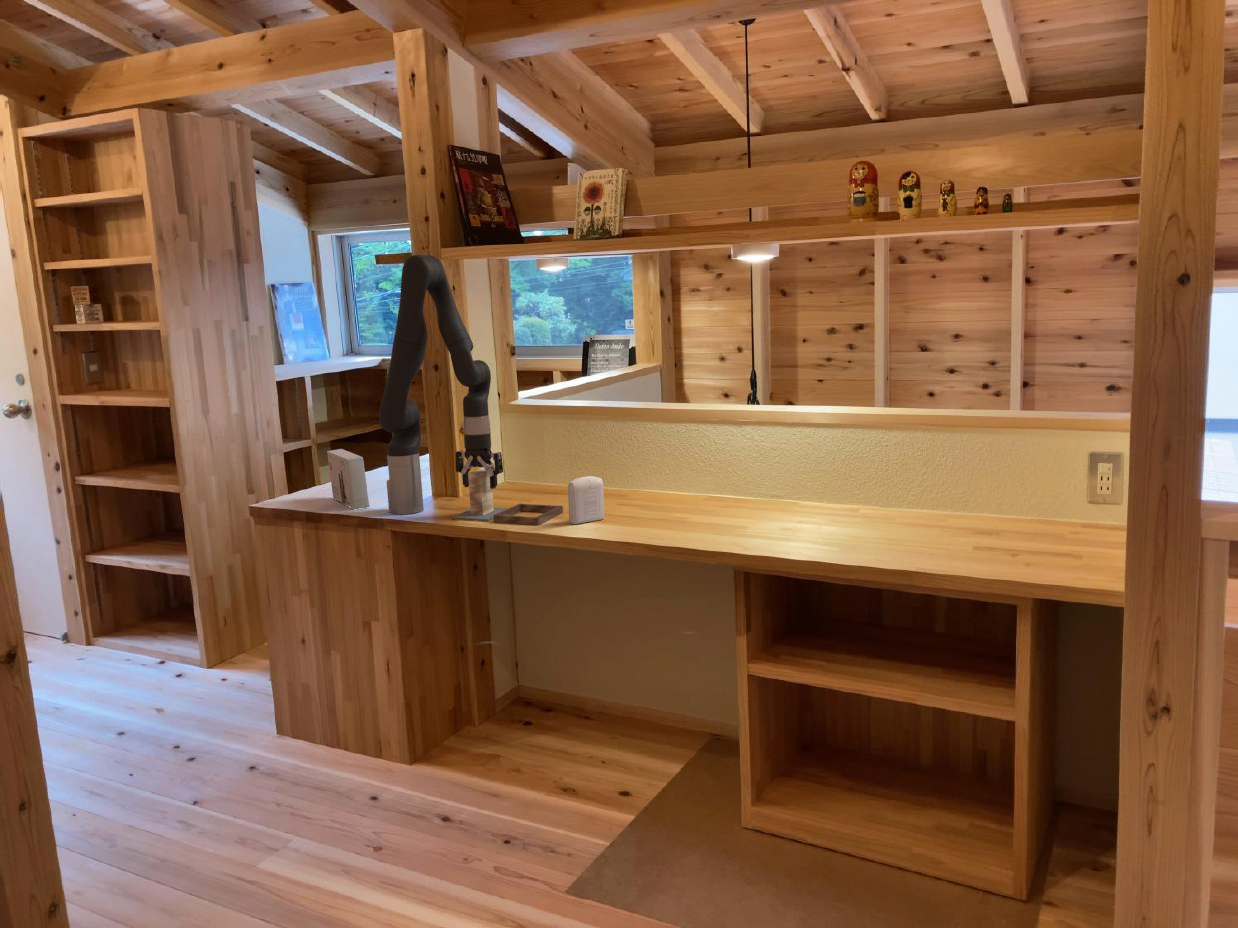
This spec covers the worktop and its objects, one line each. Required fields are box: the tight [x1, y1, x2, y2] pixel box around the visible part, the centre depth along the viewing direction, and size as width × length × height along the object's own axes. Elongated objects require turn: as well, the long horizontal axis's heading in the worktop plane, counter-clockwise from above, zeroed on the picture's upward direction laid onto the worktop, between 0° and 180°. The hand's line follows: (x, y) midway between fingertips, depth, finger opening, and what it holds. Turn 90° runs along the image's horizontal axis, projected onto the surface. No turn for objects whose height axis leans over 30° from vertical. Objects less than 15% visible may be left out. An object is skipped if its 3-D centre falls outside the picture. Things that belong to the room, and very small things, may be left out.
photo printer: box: [567, 475, 605, 525], centre depth 262 cm, size 10×4×12 cm, turn 123°
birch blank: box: [468, 468, 495, 515], centre depth 275 cm, size 4×6×12 cm, turn 157°
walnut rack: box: [493, 503, 564, 526], centre depth 270 cm, size 14×15×2 cm
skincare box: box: [326, 448, 370, 510], centre depth 297 cm, size 21×5×16 cm, turn 33°
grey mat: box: [451, 506, 510, 522], centre depth 276 cm, size 12×14×1 cm
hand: (480, 487), depth 274 cm, fingers open, 8 cm apart
